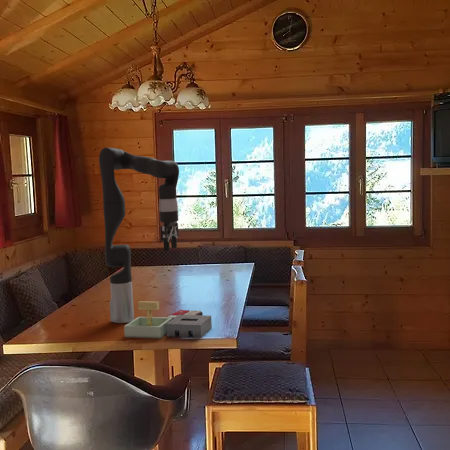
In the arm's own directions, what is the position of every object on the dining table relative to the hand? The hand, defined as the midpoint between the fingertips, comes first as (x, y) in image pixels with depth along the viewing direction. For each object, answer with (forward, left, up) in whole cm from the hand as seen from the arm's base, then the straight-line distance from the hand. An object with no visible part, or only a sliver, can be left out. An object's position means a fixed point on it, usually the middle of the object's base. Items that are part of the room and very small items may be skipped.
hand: (170, 249), depth 236 cm
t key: (-7, -10, -32) cm, 34 cm away
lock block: (+9, -7, -32) cm, 34 cm away
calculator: (+2, +8, -33) cm, 34 cm away
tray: (-7, -10, -32) cm, 34 cm away
